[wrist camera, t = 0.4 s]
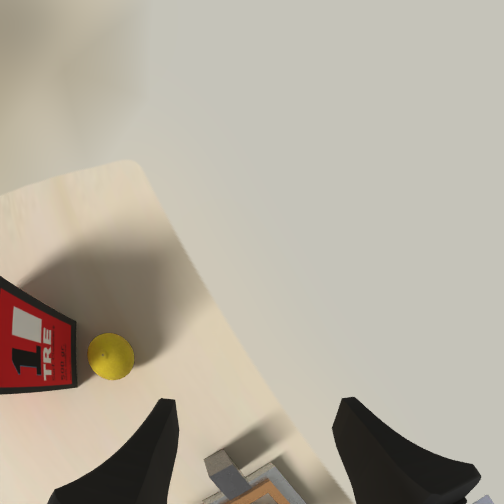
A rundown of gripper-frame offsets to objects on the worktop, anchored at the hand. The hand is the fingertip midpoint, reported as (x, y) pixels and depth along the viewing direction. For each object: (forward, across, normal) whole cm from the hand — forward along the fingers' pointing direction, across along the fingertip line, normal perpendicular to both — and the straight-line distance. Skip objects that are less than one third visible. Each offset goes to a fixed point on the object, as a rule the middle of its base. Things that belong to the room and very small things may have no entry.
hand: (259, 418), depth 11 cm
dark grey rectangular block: (+14, +2, +25) cm, 29 cm away
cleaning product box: (+18, +29, +13) cm, 37 cm away
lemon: (+21, +15, +13) cm, 29 cm away
